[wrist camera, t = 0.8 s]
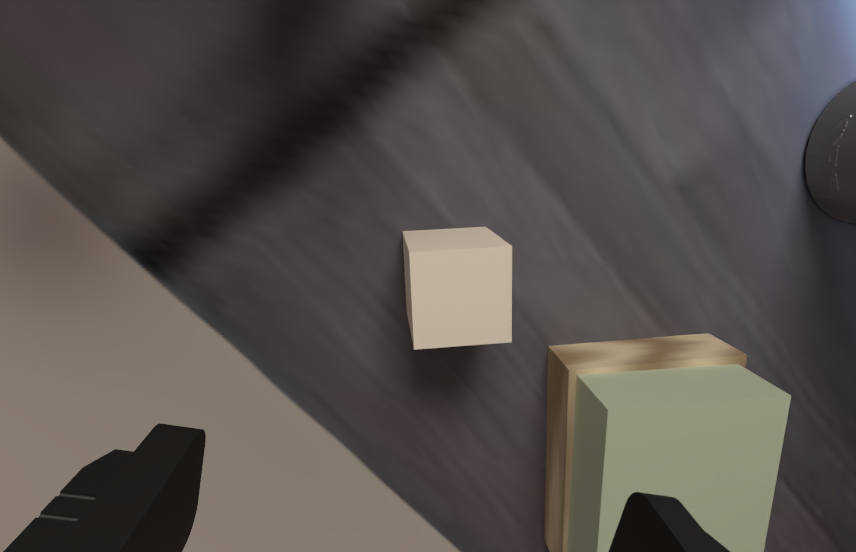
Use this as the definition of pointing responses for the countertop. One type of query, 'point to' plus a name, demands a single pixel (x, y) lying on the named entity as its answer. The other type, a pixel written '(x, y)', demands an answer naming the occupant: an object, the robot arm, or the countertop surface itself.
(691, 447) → the sage slab
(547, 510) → the brown wooden slab
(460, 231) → the cream block
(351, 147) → the countertop surface
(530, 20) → the countertop surface
